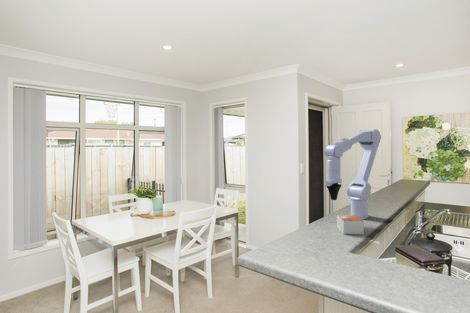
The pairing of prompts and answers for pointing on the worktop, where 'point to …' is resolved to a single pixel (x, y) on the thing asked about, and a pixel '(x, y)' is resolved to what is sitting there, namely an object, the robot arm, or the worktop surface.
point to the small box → (350, 224)
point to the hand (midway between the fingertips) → (333, 199)
